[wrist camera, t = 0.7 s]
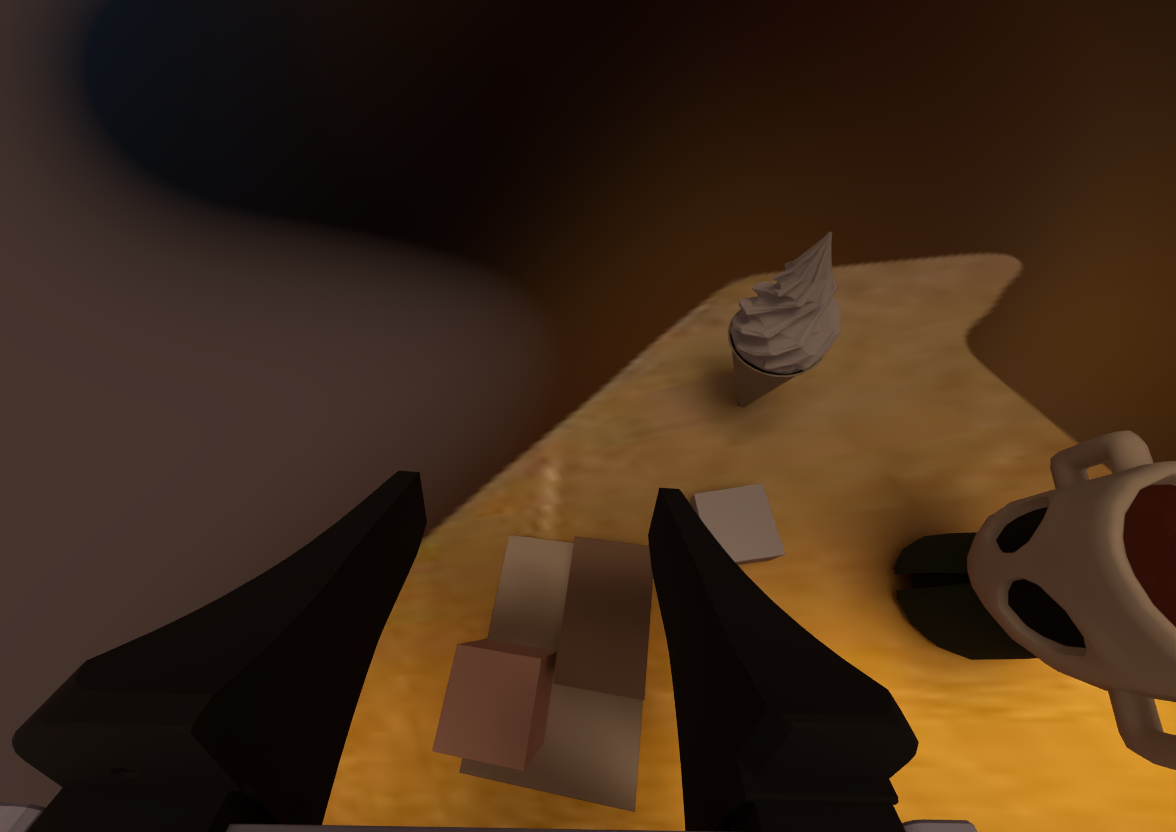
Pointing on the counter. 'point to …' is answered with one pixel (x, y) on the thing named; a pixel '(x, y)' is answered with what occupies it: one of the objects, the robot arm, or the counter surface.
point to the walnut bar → (606, 619)
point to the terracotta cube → (496, 703)
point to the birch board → (562, 690)
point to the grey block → (740, 522)
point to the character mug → (1068, 583)
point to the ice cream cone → (785, 324)
